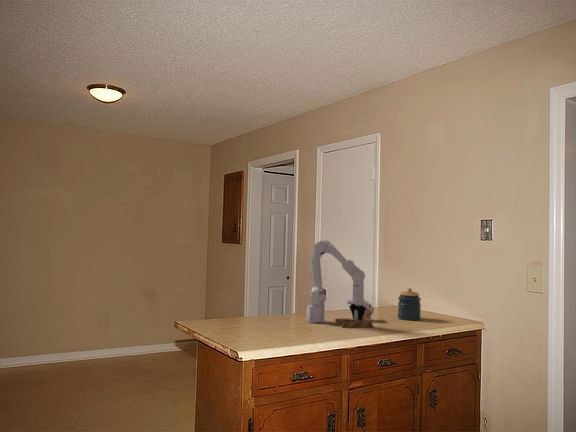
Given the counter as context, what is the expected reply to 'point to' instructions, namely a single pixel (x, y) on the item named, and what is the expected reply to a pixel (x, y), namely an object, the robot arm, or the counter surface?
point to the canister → (409, 305)
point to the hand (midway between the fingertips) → (357, 319)
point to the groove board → (352, 323)
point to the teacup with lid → (368, 312)
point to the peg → (356, 316)
